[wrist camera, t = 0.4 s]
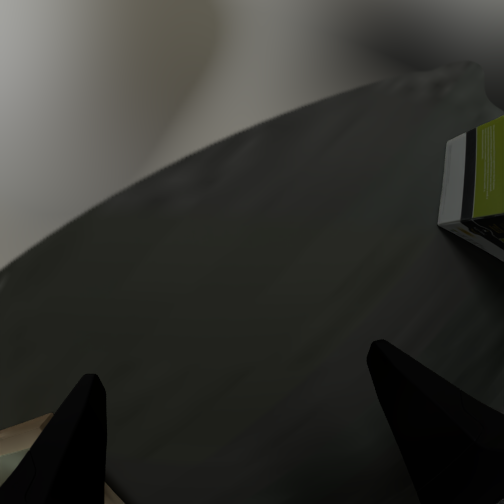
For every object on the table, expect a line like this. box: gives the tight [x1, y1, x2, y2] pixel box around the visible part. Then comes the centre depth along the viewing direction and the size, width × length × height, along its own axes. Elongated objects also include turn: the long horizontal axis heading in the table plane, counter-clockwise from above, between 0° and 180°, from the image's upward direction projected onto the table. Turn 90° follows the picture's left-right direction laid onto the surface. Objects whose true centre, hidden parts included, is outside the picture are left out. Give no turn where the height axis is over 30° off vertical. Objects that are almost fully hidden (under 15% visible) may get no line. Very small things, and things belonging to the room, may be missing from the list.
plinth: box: [0, 413, 125, 504], centre depth 19 cm, size 12×14×3 cm
